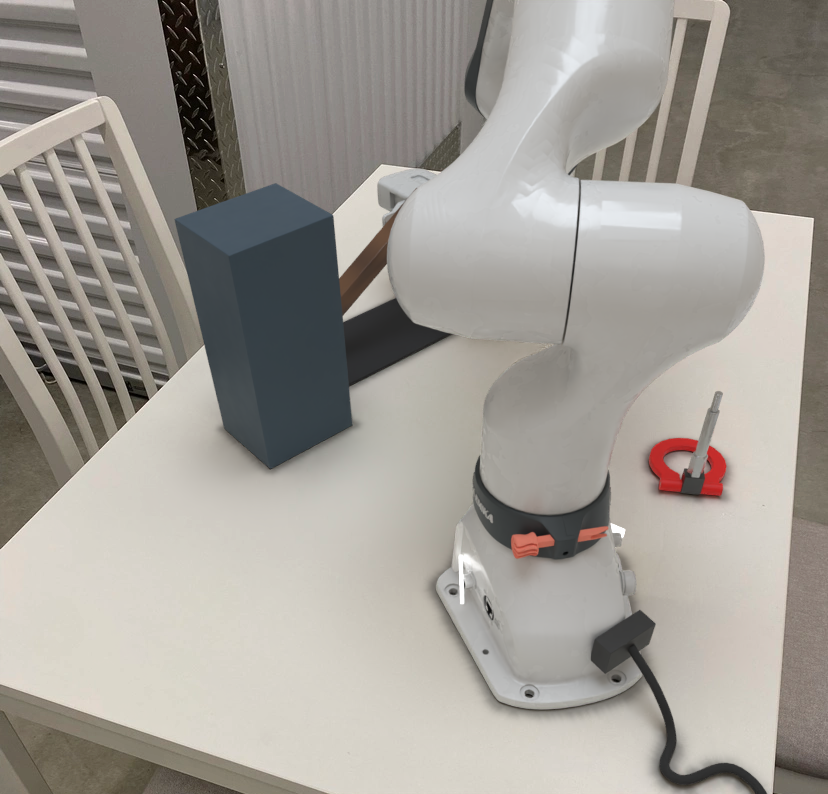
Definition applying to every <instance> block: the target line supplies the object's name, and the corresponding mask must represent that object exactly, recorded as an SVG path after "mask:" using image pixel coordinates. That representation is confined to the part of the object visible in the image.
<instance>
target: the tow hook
mask: <svg viewBox="0 0 828 794" xmlns="http://www.w3.org/2000/svg"><path fill="white" fill-rule="evenodd" d="M723 396H724V392H722V391H721V390H717V391H715V392H714V394H713V398H712V401H711V405H710V407H708V408H707V410H706V413H705V417H704V420H703V424H702V427H701V431H700V434H699V437H698V440H697V439H693V438H690V437H689V438H688V437H674V438H667V439H663V440H661V441H659V442H658V443H656V444H655V445H654V446H653V447H652V448H651V449H650V453H649V455H648V464H649V468H651V471H652V472H653V473H654V475H656V476H657V477H658V478H659V481H658V490H659V491H665V492H676V493H680V494H686V495H687V494H689V495H698V496H699V495H705V496H707V495H708V496H718V497H722V494H723V490H724V484H723V483H722V482H721V481H722V480H723V478H724V477H725V474H726V472H727V467H728V466H727V465H728V464H727V461H726V459H725V457H724V456H723V455H722V453H721V452H720V451H719V450H717V449H716V448H715V447H713V446H712V445H711V440H712V438H713V435H714V432H715V429H716V425H717V423H718V419H719V415H720V410H719V408H720V405H721V403H722V399H723ZM674 451H686V452H687V451H688V452H693V453H692V454H691V457H690V460H689V463H688V467H686V468H683V471H682V475H681V474H680V473H679V472H677V471H675V470H674V469H672V468H670V466H668V465H667V464H666V462H665V460H664V459H665V458H664V457H665V456H666V455H667V454H668V453H671V452H674ZM707 461H708V463H709V464H710V468H711V469H710V470H709V471H707V472H705V467H706V464H707ZM680 475H681V476H680Z"/></svg>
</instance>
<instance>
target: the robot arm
mask: <svg viewBox="0 0 828 794" xmlns="http://www.w3.org/2000/svg"><path fill="white" fill-rule="evenodd" d="M675 5H676V0H486V1H485V6H484V11H483V16H482V19H481V24H480V29H479V33H478V38H477V42H476V45H475V49H474V50H473V52H472V54H471V57H470V58H469V61H468V63H467V66H466V69H465V73H464V83H463V84H464V85H463V86H464V88H463V89H464V97H465V99H466V101H467V102H468V104H469V105H470V106H472V107H473V108H474V109H475V110H476V111H477V113H479V114H480V115H481V116H482V117H483V118H484V119H485V120H486V121H485V123H484V124H483V125H482V128H481V129H480V130H479V132H478V133H477V135H476V136H475V137H474V139H473V140H472V141H471V142H470V144H469V145H468V146H467V147H466V148H465V150H464V151H463V152H461V154H460V155H459V156H458V157H457V158H456V159H455V160H453V161H452V163H450V164H449V165H448V166H447V167H446V168H444V169H443V170H442V171H441V172H439V173H438V174H436V173H434V172H432V171H429V170H427V169H425V168H409V169H405V170H402V171H398V172H394V173H390V174H387V175H384V176H383V177H382V176H381V177H380V178H379V180H378V182H377V186H376V187H377V188H376V190H377V191H376V192H377V203H378V206H379V207H380V208H381V209H383V210H386V211H387V213H384V214H383V216H382V217H381V222H382V223H381V224H382V225H381V226H382V227H383V226H384V225H385V224H386V223H387V222H388V220H389V219H390V218H391V217H392V216H393V215H394V213H395V212H396V211H397V210H398V209H399V207H400V206H401V205H402V204H403V203H404V202H405V203H404V204H403V206H402V207H401V209H400V210H399V212H398V214H397V216H396V218H395V220H394V223H393V226H392V228H391V232H390V236H389V240H388V247H387V265H386V267H387V269H386V270H387V275H388V280H389V284H390V286H391V287H390V288H391V290H392V293H393V294H394V298H396V299H397V301H398V303H399V304H400V306H401V308H402V309H403V311H404V312H405V314H406V315H407V316H408V317H409V318H410V319H411V320H412V322H414V323H415V324H419V325H422V326H426V327H429V328H432V329H436V330H439V331H443V332H447V333H451V335H455V336H458V337H464V338H467V339H471V340H484V341H497V342H499V341H500V342H515V343H516V342H517V343H528V344H529V343H532V344H545V345H547V344H548V345H551V346H548V347H546V348H545V349H542V350H540V351H537V352H534V353H532V354H529V355H527V356H525V357H523V358H520V359H518V360H517V361H515V362H514V363H512V364H511V365H509V366H508V367H507V368H506V369H505V370H504V371H503V372H502V373H501V374H500V375H499V376H498V377H497V378H496V379H495V381H494V382H493V383H492V384H491V385H490V387H489V389H488V391H487V393H486V395H485V398H484V400H483V405H482V419H481V435H480V453H479V455H478V457H477V459H476V462H475V466H474V472H473V475H472V482H471V483H472V484H471V488H472V503H471V505H470V506H469V508H468V509H467V511H466V512H465V513H464V514H463V515H462V517H461V519H459V521H458V522H457V524H456V526H455V531H454V533H455V534H454V541H453V551H452V560H451V565H450V567H449V568H447V569H446V570H444V572H443V573H441V574H440V575H439V577H438V578H437V580H436V585H435V591H436V593H437V595H438V597H439V599H440V601H441V603H442V604H443V606H444V608H445V610H446V612H447V613H448V615H449V617H450V619H451V621H452V623H453V624H454V626H455V628H456V630H457V632H458V634H459V636H460V637H461V639H462V642H464V644H465V646H466V648H467V650H468V652H469V654H470V656H471V657H472V659H473V660H474V663H475V664H476V666H477V668H478V670H479V672H480V673H481V676H482V677H483V679H484V681H485V683H486V684H487V686H488V688H489V689H490V691H491V694H492V695H493V696H494V698H495V699H496V700H497V701H498V702H500V703H502V704H505V705H508V706H512V707H514V708H515V707H516V708H520V709H527V710H528V709H529V710H554V709H555V710H557V709H558V710H559V709H567V708H574V707H580V706H584V705H588V704H595V703H598V702H601V701H604V700H607V699H610V698H613V697H615V696H618V695H620V694H621V693H622V694H623V692H625V691H627V690H629V689H630V688H631V687H633V686H634V685H635V684H636V683H637V682H638V681H640V679H641V678H642V677H643V678H644V679H645V682H646V683H647V684H648V687H649V688H650V690H651V693H653V697H654V699H655V701H656V703H657V705H658V708H659V710H660V713H661V716H662V718H663V722H664V726H665V731H666V743H665V746H664V749H663V751H662V752H661V754H660V755H661V756H660V758H659V771H660V772H661V774H662V775H663V776H664V777H665V778H666V780H669V781H670V782H671V783H673V784H676V785H679V786H689V785H695V784H697V783H699V782H702V781H704V780H707V779H709V778H711V777H714V776H716V775H719V774H726V773H727V774H732V775H735V776H737V777H738V778H739V779H741V780H742V781H743V782H745V783H746V784H747V785H748V786H749V787H750V788H751V789H752V791H753V793H754V794H768V792H767V790H766V789H765V787H764V786H763V785H762V784H761V782H760V781H759V780H758V779H757V778H756V777H755V776H754V775H752V774H751V772H749V771H747V770H746V769H745V768H743V767H742V766H739V765H737V764H735V763H730V762H718V763H714V764H711V765H708V766H706V767H703V768H701V769H699V770H697V771H695V772H691V773H687V774H680V773H677V772H675V771H674V770H672V768H671V766H670V762H671V759H672V758H673V755H674V753H675V750H676V747H677V732H676V731H677V730H676V725H675V721H674V717H673V713H672V710H671V708H670V705H669V703H668V701H667V698H666V696H665V693H664V691H663V689H662V687H661V685H660V683H659V682H658V680H657V678H656V676H655V674H654V673H653V671H652V669H651V668H650V666H649V665H648V662H646V660H645V658H644V657H643V656H642V653H641V651H642V650H643V649H644V648H646V647H647V646H649V645H650V644H651V639H652V637H653V634H654V631H655V628H656V625H657V623H656V622H655V621H654V620H653V619H652V618H650V617H649V616H648V615H647V614H646V613H645V612H643V610H641V609H639V610H637V611H635V612H634V613H633V612H632V607H631V601H630V598H629V596H633V595H635V594H636V591H637V577H636V573H635V571H633V570H631V569H627V570H624V569H623V565H622V562H621V557H620V555H619V554H618V553H617V551H616V548H619V547H621V546H622V545H623V544H622V543H623V538H624V536H625V532H626V529H625V528H623V527H621V526H618V525H616V524H614V523H612V522H611V517H610V516H611V515H610V512H611V510H610V509H611V506H612V492H611V491H612V487H611V475H610V469H609V468H610V464H611V460H612V456H613V453H614V449H615V446H616V442H617V440H618V436H619V432H620V430H621V427H622V425H623V422H624V420H625V417H626V415H627V414H628V412H629V410H630V409H631V407H632V406H633V404H634V403H635V401H636V400H637V399H638V398H639V397H640V396H641V395H642V393H644V391H645V390H646V389H647V388H649V386H651V384H652V383H653V382H655V381H656V380H657V379H658V378H660V376H661V375H663V374H664V373H666V371H668V370H669V369H671V368H672V367H674V366H675V365H676V364H678V363H679V362H682V361H683V360H684V359H686V358H688V357H689V356H692V355H694V354H695V353H698V352H699V351H702V350H703V349H705V348H708V347H711V346H713V345H716V344H718V343H720V342H722V341H723V340H724V339H726V338H727V337H728V336H729V335H730V334H731V333H732V332H733V331H734V330H735V329H737V328H738V326H740V324H741V322H743V320H745V318H746V317H747V315H748V313H749V312H750V311H751V309H752V307H753V305H754V303H755V302H756V299H757V298H758V295H759V292H760V289H761V286H762V283H763V278H764V273H765V262H766V256H765V255H766V253H765V243H764V239H763V236H762V235H763V234H762V231H761V229H760V226H759V224H758V221H757V219H756V217H755V215H754V213H753V212H752V211H751V209H750V208H749V207H748V205H747V203H745V202H744V201H743V200H742V199H738V198H735V197H731V196H728V195H724V194H720V193H717V192H714V191H710V190H706V189H702V188H698V187H693V186H690V185H686V184H681V183H676V182H675V183H674V182H652V181H630V180H629V181H627V180H602V179H600V180H599V179H580V178H579V177H574V173H575V171H576V168H577V167H578V165H579V164H580V163H581V162H582V161H584V160H585V159H587V158H589V157H590V156H592V155H595V154H596V153H599V152H601V151H603V150H605V149H607V148H610V147H612V146H615V145H617V144H618V143H619V142H621V141H623V140H625V139H626V138H628V137H629V136H630V135H632V134H633V133H635V131H637V130H638V129H639V128H640V127H641V126H642V125H644V124H645V122H647V120H649V118H650V117H651V116H652V115H653V113H654V112H655V111H656V110H657V108H658V106H659V104H660V102H661V101H662V98H663V96H664V94H665V91H666V89H667V85H668V81H669V69H670V58H671V48H672V37H673V27H674V26H673V24H674V16H675ZM416 188H417V189H416ZM415 189H416V190H415ZM414 190H415V191H414ZM413 191H414V192H413ZM412 192H413V193H412ZM411 193H412V194H411ZM407 198H408V199H407ZM406 199H407V200H406ZM405 200H406V201H405ZM614 680H617V681H618V682H616V681H614ZM526 695H531V696H532V697H527V696H526Z"/></svg>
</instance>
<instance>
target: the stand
mask: <svg viewBox="0 0 828 794" xmlns="http://www.w3.org/2000/svg"><path fill="white" fill-rule="evenodd" d="M173 219H174V224H175V228H176V233H177V236H178V241H179V245H180V249H181V254H182V258H183V262H184V267H185V270H186V274H187V279H188V282H189V283H188V284H189V287H190V291H191V296H192V300H193V303H194V307H195V312H196V316H197V320H198V324H199V329H200V333H201V338H202V341H203V346H204V350H205V354H206V358H207V363H208V366H209V367H208V368H209V371H210V374H211V375H210V376H211V379H212V383H213V387H214V391H215V397H216V400H217V404H218V409H219V412H220V417H221V421H222V426H223V429H224V430H225V431H226V432H227V433H229V434H230V435H231V436H232V437H233V438H234V439H235V440H236V441H238V442H239V443H240V444H241V445H242V446H244V447H245V448H246V450H248V451H249V452H250V453H252V454H253V456H255V457H256V458H257V459H258V460H259V461H261V463H263V464H264V465H265V466H266V467H267V468H269V470H271V469H273V468H275V467H277V466H279V465H281V464H283V463H285V462H286V461H288V460H290V459H292V458H293V457H296V456H298V455H299V454H301V453H304V452H305V451H307V450H309V449H311V448H313V447H315V446H316V445H318V444H320V443H322V442H324V441H326V440H328V439H330V438H332V437H333V436H335V435H337V434H339V433H341V432H342V431H345V430H346V429H348V428H350V427H352V426H353V417H352V405H351V394H350V392H351V391H350V386H349V381H348V370H347V359H346V348H345V338H344V327H343V322H344V317H343V316H344V315H343V316H342V305H341V294H340V283H339V278H340V273H339V262H338V261H339V260H338V251H337V241H336V229H335V228H336V227H335V220H334V219H335V218H334V214H332V213H330V212H329V211H327V210H325V209H323V208H321V207H319V206H318V205H316V204H314V203H313V202H310V201H309V200H307V199H305V198H304V197H302V196H301V195H299V194H297V193H294V192H293V191H291V190H289V189H287V188H286V187H284V186H282V185H280V184H278V183H276V182H275V183H272V184H269V185H266V186H264V187H259V188H258V189H255V190H252V191H249V192H245V193H244V194H241V195H238V196H236V197H232V198H230V199H227V200H224V201H221V202H218V203H215V204H213V205H210V206H206V207H203V208H201V209H199V210H195V211H193V212H190V213H187V214H184V215H182V216H179V217H176V218H173Z"/></svg>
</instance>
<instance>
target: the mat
mask: <svg viewBox="0 0 828 794" xmlns="http://www.w3.org/2000/svg"><path fill="white" fill-rule="evenodd" d="M343 327H344V338H345V348H346V359H347V370H348V381H349V387H351V386H353V385H354V384H357V383H359V382H360V381H363V380H364V379H366V378H368V377H371V376H372V375H375V374H376V373H378V372H381V371H383V370H384V369H386V368H389V367H390V366H392V365H394V364H396V363H398V362H400V361H403V360H405V359H406V358H408V357H410V356H412V355H414V354H416V353H418V352H419V351H421V350H423V349H425V348H427V347H429V346H431V345H433V344H436V343H437V342H439V341H442V340H443V339H445V338H447V337H449V336H451V335H452V334H451V333H447V332H443V331H439V330H436V329H432V328H429V327H426V326H422V325H419V324H415V323H414V322H412V320H411V319H410V318H409V317H408V316H407V315H406V314H405V312H404V311H403V309H402V308H401V306H400V304H399V303H398V301H397V299H396V297H394V298H392V299H390V300H388V301H386V302H384V303H381V304H379V305H377V306H375V307H373V308H370V309H369V310H367V311H364V312H362V313H360V314H357V315H355V316H354V317H352V318H349V319H347V320H345V321H343Z"/></svg>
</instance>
